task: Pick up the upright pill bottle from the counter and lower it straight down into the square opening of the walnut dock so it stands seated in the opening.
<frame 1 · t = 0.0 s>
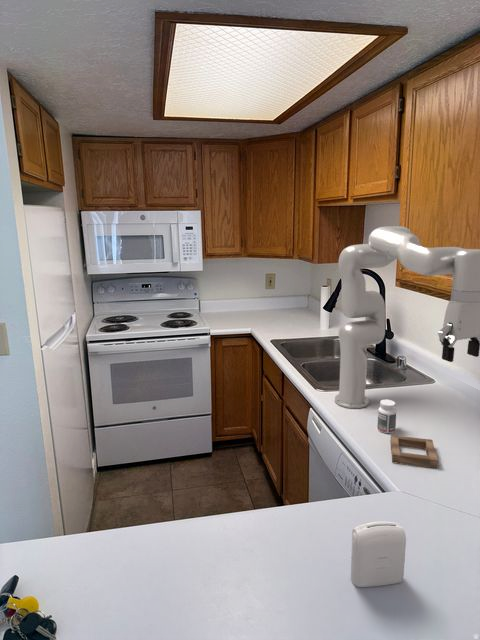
hand: (460, 357, 117), 31 cm above the countertop, tool pointing down, fingers open, 9 cm apart
walnut dock: (412, 454, 128), on the countertop
photo printer: (376, 579, 84), on the countertop
pill bottle: (386, 430, 143), on the countertop
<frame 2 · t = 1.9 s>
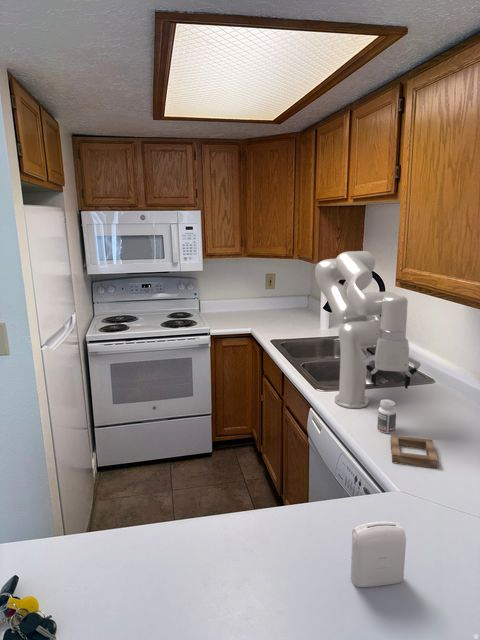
hand: (390, 385, 139), 16 cm above the countertop, tool pointing down, fingers open, 9 cm apart
nothing on the countertop moved.
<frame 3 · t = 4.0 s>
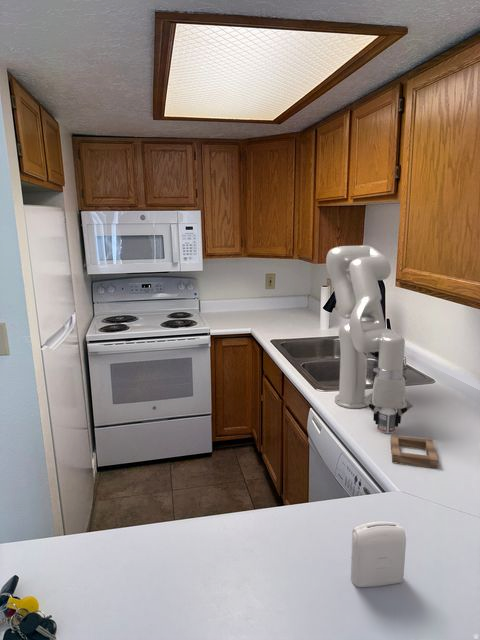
hand: (386, 423, 142), 2 cm above the countertop, tool pointing down, fingers closed on pill bottle, 5 cm apart
pill bottle: (386, 430, 143), on the countertop, touching gripper
everything else where it was.
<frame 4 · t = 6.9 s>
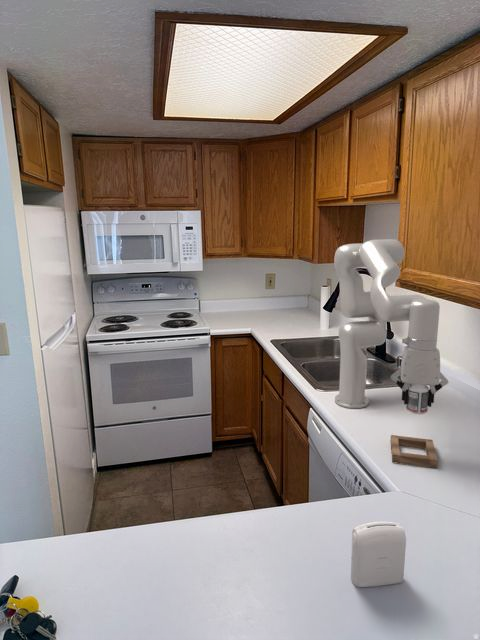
hand: (417, 403, 124), 17 cm above the countertop, tool pointing down, fingers closed on pill bottle, 5 cm apart
pill bottle: (416, 411, 124), point 14 cm above the countertop, touching gripper
everything else where it was.
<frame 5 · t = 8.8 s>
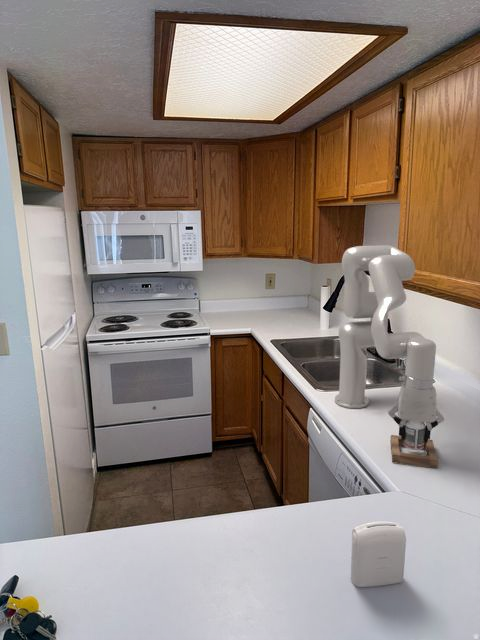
hand: (413, 438, 126), 5 cm above the countertop, tool pointing down, fingers closed on pill bottle, 5 cm apart
pill bottle: (413, 446, 127), point 3 cm above the countertop, touching gripper
everything else where it was.
when the fingers open (4 cm above the countertop, at t = 10.2 s): pill bottle drops 2 cm, resting in walnut dock.
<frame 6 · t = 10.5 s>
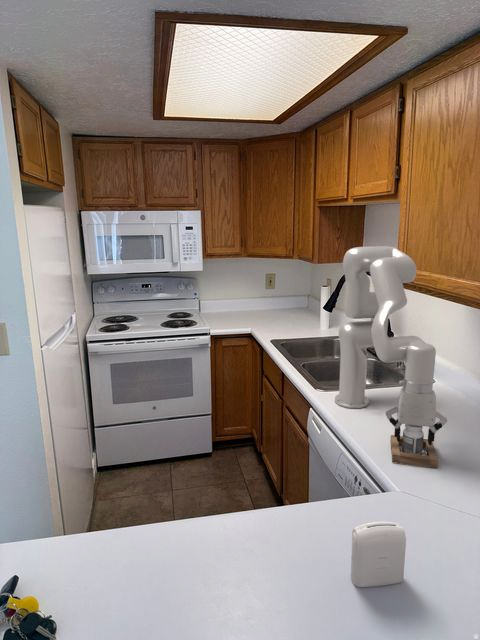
hand: (413, 440, 127), 5 cm above the countertop, tool pointing down, fingers open, 8 cm apart
pill bottle: (411, 454, 128), resting in walnut dock
everything else where it was.
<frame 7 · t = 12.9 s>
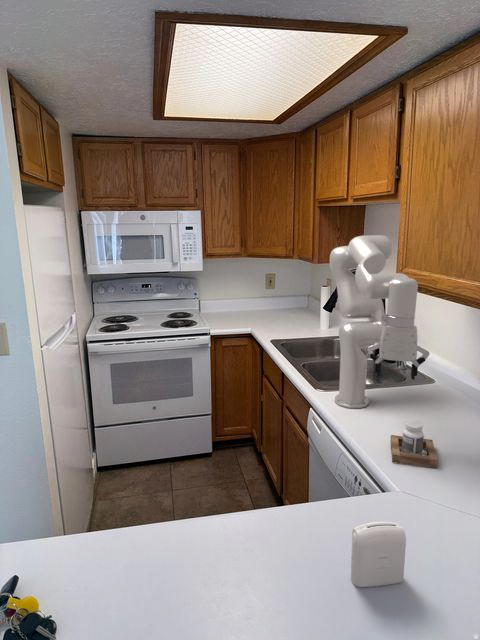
hand: (395, 376, 127), 23 cm above the countertop, tool pointing down, fingers open, 9 cm apart
nothing on the countertop moved.
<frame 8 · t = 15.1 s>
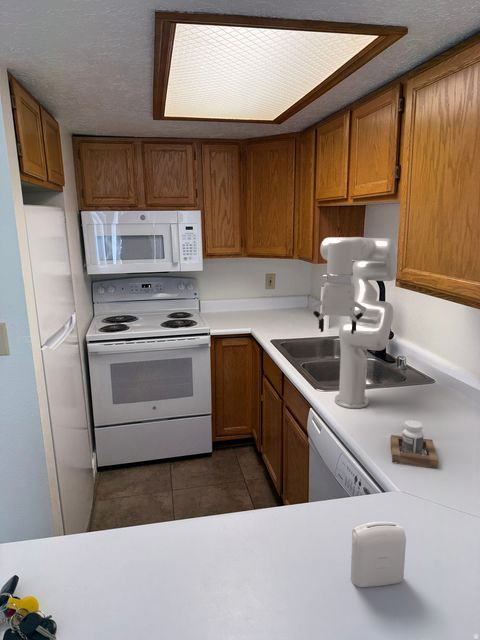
hand: (337, 332, 138), 33 cm above the countertop, tool pointing down, fingers open, 9 cm apart
nothing on the countertop moved.
at the end: pill bottle 0.2 cm off-centre on the walnut dock, point 0.0 cm above the walnut dock's base; pill bottle tilted 0°; the gripper is holding nothing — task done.
